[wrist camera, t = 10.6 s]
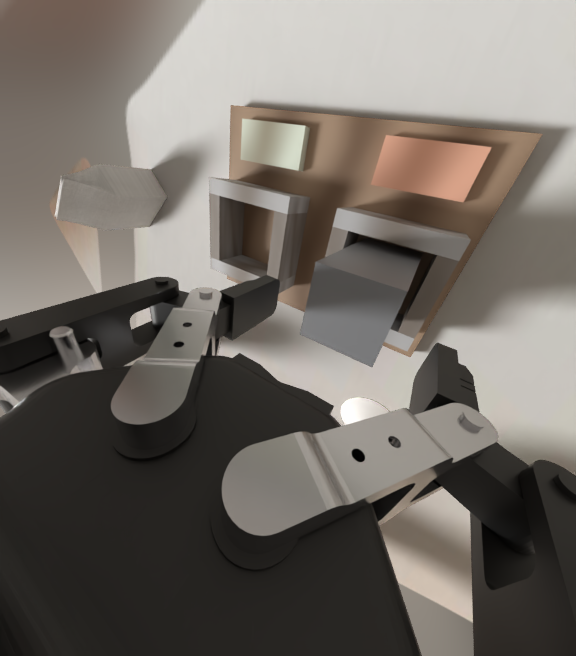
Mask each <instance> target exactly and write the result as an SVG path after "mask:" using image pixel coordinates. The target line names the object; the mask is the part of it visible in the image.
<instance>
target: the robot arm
mask: <svg viewBox="0 0 576 656" xmlns="http://www.w3.org/2000/svg"><path fill="white" fill-rule="evenodd" d="M279 288H280V281H279V280H278V279H276V278H273V277H271V276H268V275H265V276H262V277H260V278H257V279H255V280H249V281H245V282H243V283H241V284H237V285H235V286H232V287H229V288H227V289H224V290H222V291H218V290H216V289H213V288H206V287H203V288H196V289H194V290H192V291H191V292H190V293H187V292H183V291H179V286H178V281H177V280H175V279H173V278H169V277H155V278H150V279H147V280H143V281H140V282H136V283H133V284H129V285H126V286H122V287H118V288H115V289H112V290H108V291H104V292H101V293H97V294H94V295H90V296H86V297H83V298H79V299H76V300H72V301H69V302H66V303H62V304H58V305H55V306H51V307H48V308H44V309H40V310H37V311H33V312H30V313H26V314H23V315H19V316H15V317H12V318H9V319H5V320H1V321H0V407H1V408H2V409H3V411H4V412H5V413H6V414H5V415H3V416H2V417H0V656H422V655H421V652H420V649H419V646H418V643H417V640H416V637H415V634H414V631H413V627H412V624H411V621H410V618H409V615H408V612H407V609H406V606H405V603H404V601H403V597H402V594H401V591H400V588H399V585H398V582H397V579H396V576H395V573H394V570H393V567H392V564H391V561H390V557H389V554H388V551H387V548H386V545H385V542H384V539H383V536H382V533H381V530H380V527H379V526H380V525H382V524H384V523H385V522H387V521H388V520H390V519H391V518H393V517H394V516H395V515H397V514H398V513H399V512H401V511H402V510H404V509H406V508H408V507H409V506H411V505H413V504H415V503H417V502H419V501H421V500H422V499H424V498H426V497H428V496H430V495H432V494H434V493H435V492H437V491H439V490H441V489H443V488H444V489H446V490H447V491H448V492H449V493H450V494H451V495H452V496H453V497H454V498H456V499H457V500H458V501H459V502H460V503H461V504H462V505H463V506H464V507H466V508H467V509H468V510H469V511H470V522H471V560H472V599H473V636H474V656H576V476H575V475H574V474H572V473H571V472H569V471H568V470H566V469H564V468H563V467H561V466H559V465H557V464H555V463H552V462H549V461H545V460H537V461H535V462H534V463H533V464H531V465H530V466H529V465H527V464H526V463H524V462H523V461H522V460H520V459H519V458H517V457H516V456H514V455H513V454H512V453H510V452H509V451H507V450H506V449H505V448H503V447H502V446H501V445H499V444H498V443H497V440H498V434H497V431H496V429H495V428H494V426H493V425H492V424H491V422H490V421H489V420H488V419H487V418H486V417H484V416H483V415H482V414H481V413H479V408H478V402H477V397H476V393H475V386H474V380H473V376H472V374H471V373H470V372H469V370H468V369H467V368H466V366H463V365H461V364H459V363H458V355H457V350H455V349H452V348H450V347H447V346H445V345H442V344H440V343H436V344H435V346H434V347H433V348H432V350H431V352H430V353H429V355H428V356H427V358H426V359H425V361H424V362H423V364H422V366H421V367H420V369H419V370H418V372H417V374H416V376H415V379H414V382H413V389H412V395H411V401H410V407H409V410H408V409H407V408H402V409H398V410H395V411H392V412H388V413H385V414H381V415H378V416H375V417H371V418H368V419H364V420H361V421H358V422H354V423H351V424H347V425H344V426H341V425H340V424H339V423H338V422H337V421H336V420H335V418H333V417H332V416H331V415H330V414H331V412H332V409H333V407H334V406H333V405H331V404H329V403H327V402H326V401H324V400H322V399H320V398H319V397H317V396H315V395H313V394H311V393H310V392H308V391H305V390H302V389H299V388H296V387H293V386H290V385H287V384H284V383H281V382H279V381H278V380H276V379H275V378H274V377H273V376H272V375H271V374H270V373H269V372H268V371H267V370H265V369H264V368H263V367H262V366H261V365H260V364H258V363H256V362H255V361H253V360H251V359H249V358H247V357H246V356H244V355H242V354H240V353H239V354H238V355H236V356H235V357H234V358H229V357H225V356H218V353H219V348H220V343H221V337H222V336H225V337H226V338H228V339H230V340H234V339H235V338H237V337H238V336H240V335H241V334H243V333H245V332H246V331H248V330H249V329H251V328H252V327H254V326H256V325H257V324H259V323H260V322H262V321H263V320H265V319H266V318H268V317H270V316H271V315H272V314H273V313H274V311H275V309H276V306H277V300H278V294H279ZM149 307H150V313H151V319H152V321H150V322H148V323H146V324H143V325H141V326H139V327H137V328H134V329H132V330H131V327H130V318H131V316H132V315H133V314H134V313H136V312H138V311H141V310H143V309H146V308H149ZM145 354H146V355H145ZM143 355H145V357H144V358H143V359H142V360H137V361H136V362H135V363H134V364H133V365H130V366H125V365H127V364H128V363H130V362H132V361H134V360H136V359H137V358H139V357H141V356H143Z"/></svg>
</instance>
